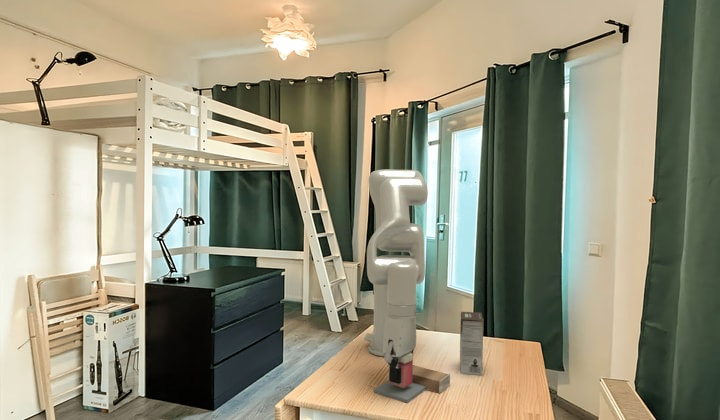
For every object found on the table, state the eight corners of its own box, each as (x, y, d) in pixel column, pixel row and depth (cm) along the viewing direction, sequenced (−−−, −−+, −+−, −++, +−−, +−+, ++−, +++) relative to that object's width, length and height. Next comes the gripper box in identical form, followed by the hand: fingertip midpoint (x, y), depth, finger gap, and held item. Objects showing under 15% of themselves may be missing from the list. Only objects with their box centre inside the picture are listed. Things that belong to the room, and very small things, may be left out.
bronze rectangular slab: (399, 381, 120) (400, 370, 120) (410, 374, 125) (410, 364, 125) (440, 393, 113) (440, 381, 113) (449, 385, 118) (450, 374, 118)
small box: (387, 383, 114) (388, 353, 114) (397, 378, 117) (397, 349, 117) (403, 388, 111) (404, 358, 111) (413, 383, 114) (413, 353, 114)
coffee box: (459, 362, 135) (460, 310, 135) (480, 364, 134) (481, 312, 133) (460, 373, 126) (461, 318, 126) (483, 375, 125) (484, 320, 124)
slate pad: (373, 392, 113) (373, 389, 113) (393, 379, 121) (393, 377, 121) (407, 403, 107) (407, 399, 107) (426, 389, 115) (426, 386, 115)
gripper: (405, 301, 123) (404, 366, 123) (371, 313, 109) (370, 386, 110) (429, 305, 118) (428, 372, 119) (397, 319, 105) (395, 394, 105)
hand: (400, 378), depth 114 cm, fingers closed on small box, 4 cm apart
